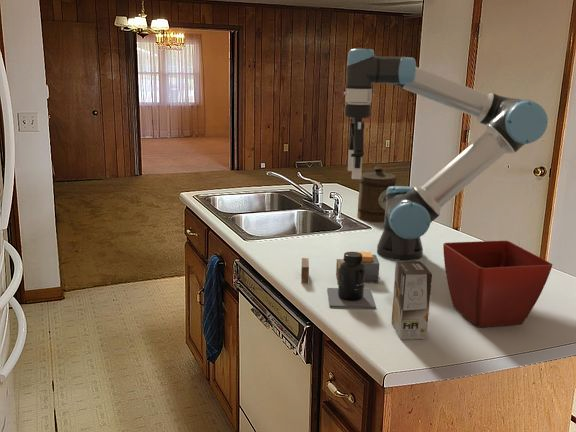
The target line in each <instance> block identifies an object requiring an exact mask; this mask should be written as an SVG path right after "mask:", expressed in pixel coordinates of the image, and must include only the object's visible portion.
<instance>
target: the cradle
mask: <svg viewBox="0 0 576 432" xmlns="http://www.w3.org/2000/svg"><path fill="white" fill-rule="evenodd" d="M309 259H310V258H309V257H302V258H301V270H300V271H301V274H300V275H301V276H300V277H301V280H300V281H301V283H300V284H302V285H309V277H310V276H309V275H310V260H309ZM343 262H344V260H343V258H336V267H335V268H336V270H335V277H336V282H337V285H338V284H339V268H340V265H341V263H343Z"/></svg>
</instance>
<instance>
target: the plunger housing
mask: <svg viewBox="0 0 576 432" xmlns="http://www.w3.org/2000/svg"><path fill="white" fill-rule="evenodd" d="M372 256H373V261H372V262H361V263H362V264H363V265H364V266H365V279H364V284H379V276H380V275H379V274H380V262H379V259H378V256H377V255H376V254H372Z"/></svg>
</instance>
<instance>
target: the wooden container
mask: <svg viewBox="0 0 576 432" xmlns="http://www.w3.org/2000/svg"><path fill="white" fill-rule="evenodd" d="M383 168H384V167H383V166H381V165H376V166H374V172H371V171H366V172H362V173H361V179H359V189H358V203H357V218H358V219H360V220H361V221H365V222H369V223H384V219H385V206H386V192H387V188H388V187H390V186H396V183H397V176H396V175H395V174H393V173H388V172H383Z"/></svg>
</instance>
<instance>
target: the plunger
mask: <svg viewBox="0 0 576 432" xmlns="http://www.w3.org/2000/svg"><path fill="white" fill-rule="evenodd" d="M357 252H358V253H361V254H362V262H372V261H373V256H372V255H373V254H372V252H371V251H357Z"/></svg>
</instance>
